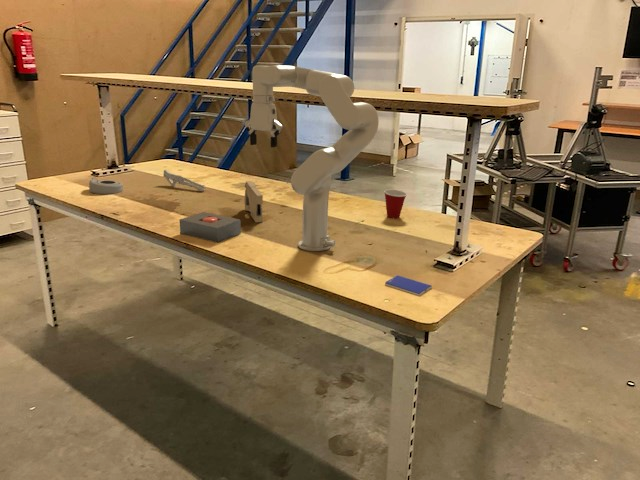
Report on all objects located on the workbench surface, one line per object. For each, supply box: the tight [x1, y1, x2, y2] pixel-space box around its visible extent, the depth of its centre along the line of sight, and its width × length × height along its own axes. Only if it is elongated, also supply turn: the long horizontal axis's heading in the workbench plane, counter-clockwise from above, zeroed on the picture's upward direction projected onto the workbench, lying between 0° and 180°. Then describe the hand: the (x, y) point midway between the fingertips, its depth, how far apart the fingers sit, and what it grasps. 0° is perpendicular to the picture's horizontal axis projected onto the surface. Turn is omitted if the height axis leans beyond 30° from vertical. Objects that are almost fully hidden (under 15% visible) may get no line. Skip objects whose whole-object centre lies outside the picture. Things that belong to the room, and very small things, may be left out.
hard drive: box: [384, 275, 432, 297], centre depth 165 cm, size 2×8×12 cm
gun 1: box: [162, 169, 206, 193], centre depth 285 cm, size 2×30×8 cm, turn 60°
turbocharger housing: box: [88, 177, 124, 195], centre depth 274 cm, size 17×6×15 cm
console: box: [179, 211, 242, 243], centre depth 210 cm, size 20×14×6 cm
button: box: [202, 217, 218, 223], centre depth 209 cm, size 6×6×3 cm
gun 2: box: [243, 180, 264, 223], centre depth 235 cm, size 24×3×15 cm, turn 21°
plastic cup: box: [383, 189, 408, 219], centre depth 240 cm, size 11×11×12 cm
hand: (263, 145), depth 199 cm, fingers open, 9 cm apart
